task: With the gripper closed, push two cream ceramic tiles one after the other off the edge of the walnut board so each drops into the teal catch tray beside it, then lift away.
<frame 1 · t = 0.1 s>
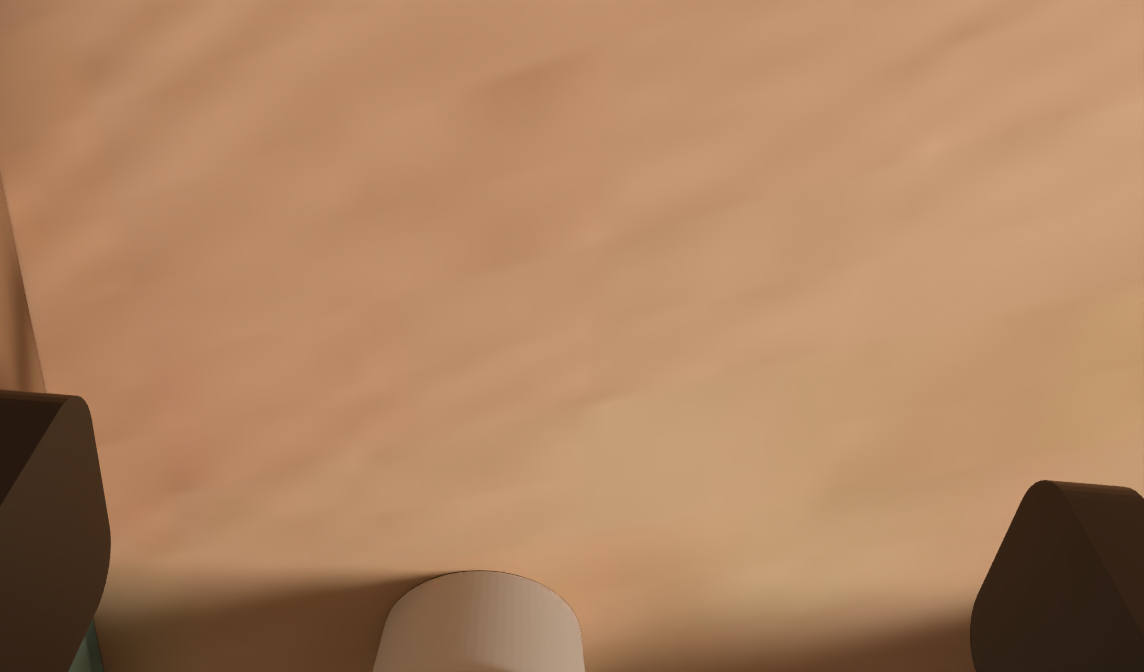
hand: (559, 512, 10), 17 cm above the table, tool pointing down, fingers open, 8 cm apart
coffee cup: (482, 634, 37), on the table
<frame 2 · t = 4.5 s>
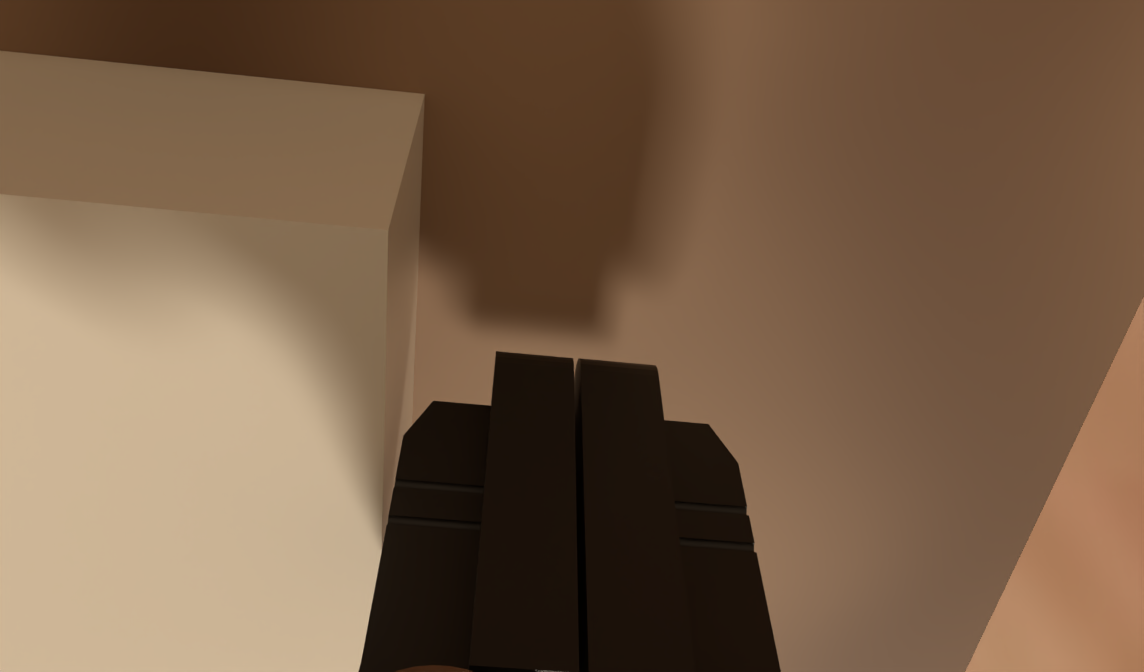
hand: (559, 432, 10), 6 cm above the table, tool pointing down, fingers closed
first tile: (118, 342, 11), point 5 cm above the table, touching gripper
walnut board: (392, 405, 18), on the table
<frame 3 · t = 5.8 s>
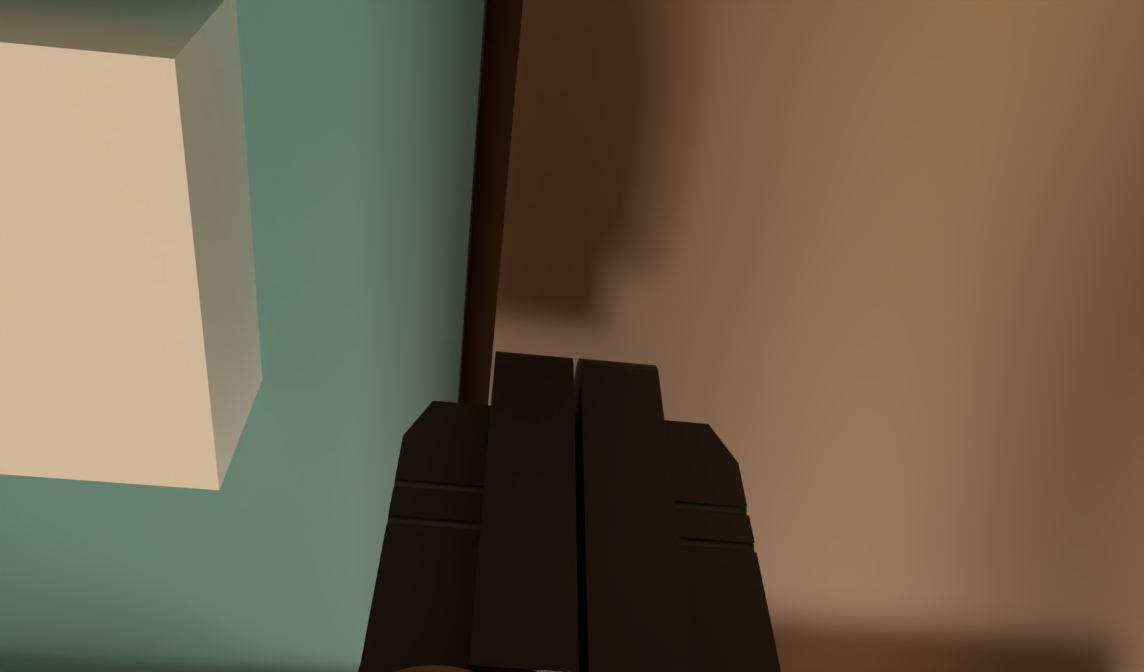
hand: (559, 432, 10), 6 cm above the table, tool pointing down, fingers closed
walnut board: (958, 450, 19), on the table
catch tray: (72, 374, 18), on the table
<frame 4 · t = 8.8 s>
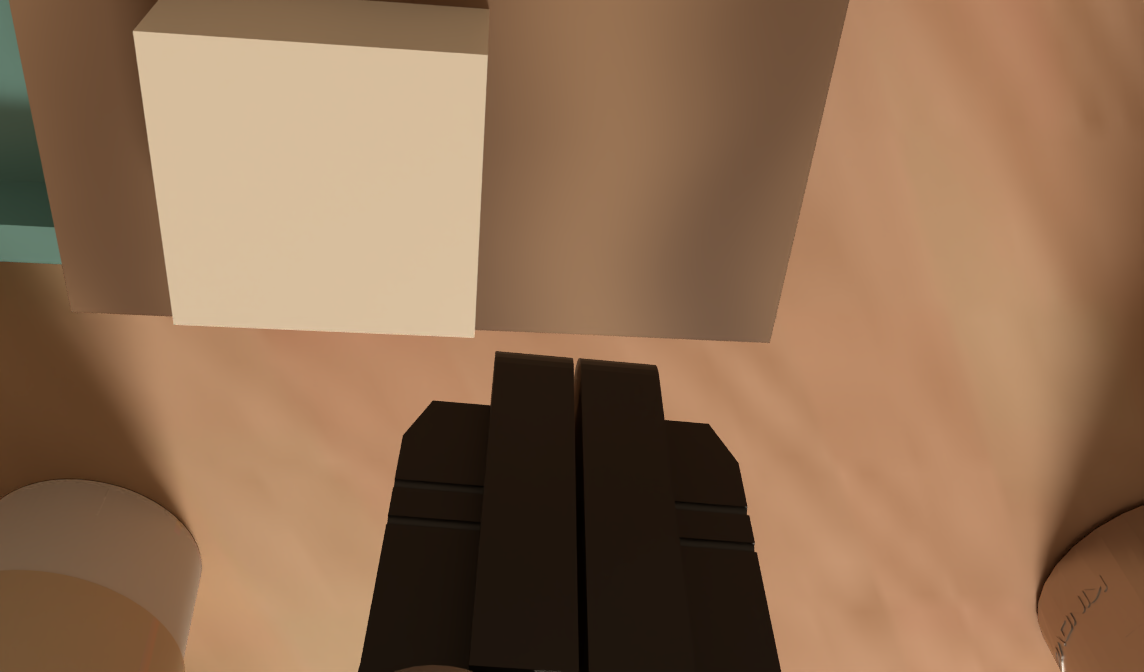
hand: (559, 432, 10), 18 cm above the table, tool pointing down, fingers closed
coffee cup: (94, 551, 36), on the table
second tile: (336, 142, 23), point 5 cm above the table, touching walnut board
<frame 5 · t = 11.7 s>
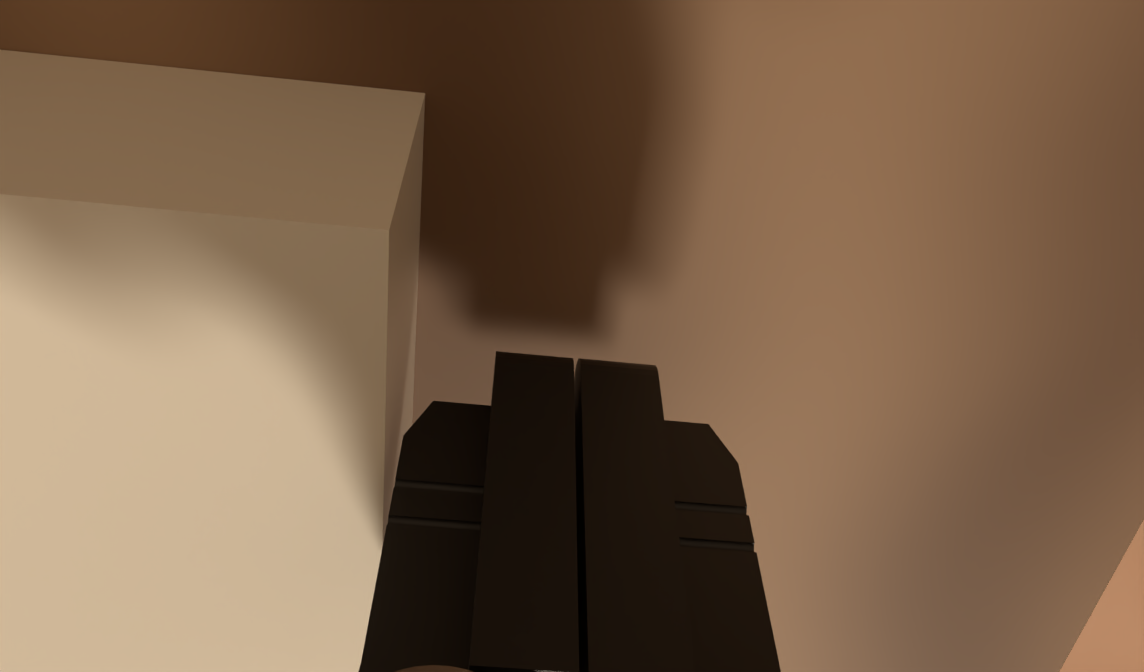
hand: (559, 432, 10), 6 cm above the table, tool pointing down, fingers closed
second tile: (118, 341, 11), point 5 cm above the table, touching gripper
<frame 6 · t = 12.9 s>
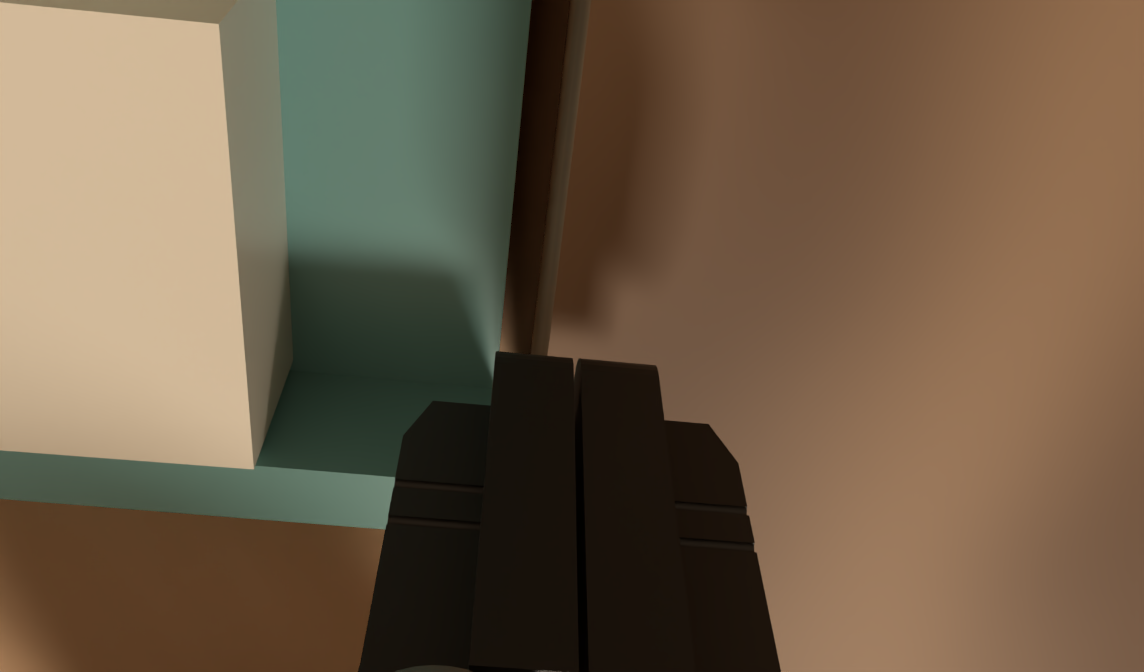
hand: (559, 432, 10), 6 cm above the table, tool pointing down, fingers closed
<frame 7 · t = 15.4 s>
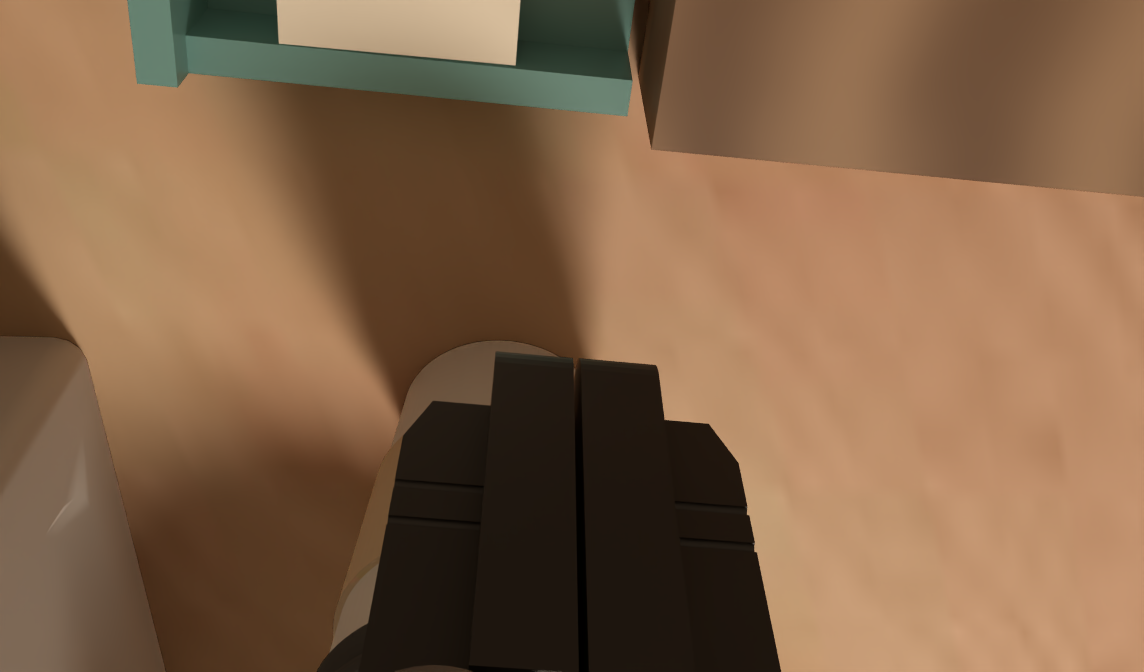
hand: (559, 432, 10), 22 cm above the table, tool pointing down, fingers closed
coffee cup: (502, 414, 39), on the table
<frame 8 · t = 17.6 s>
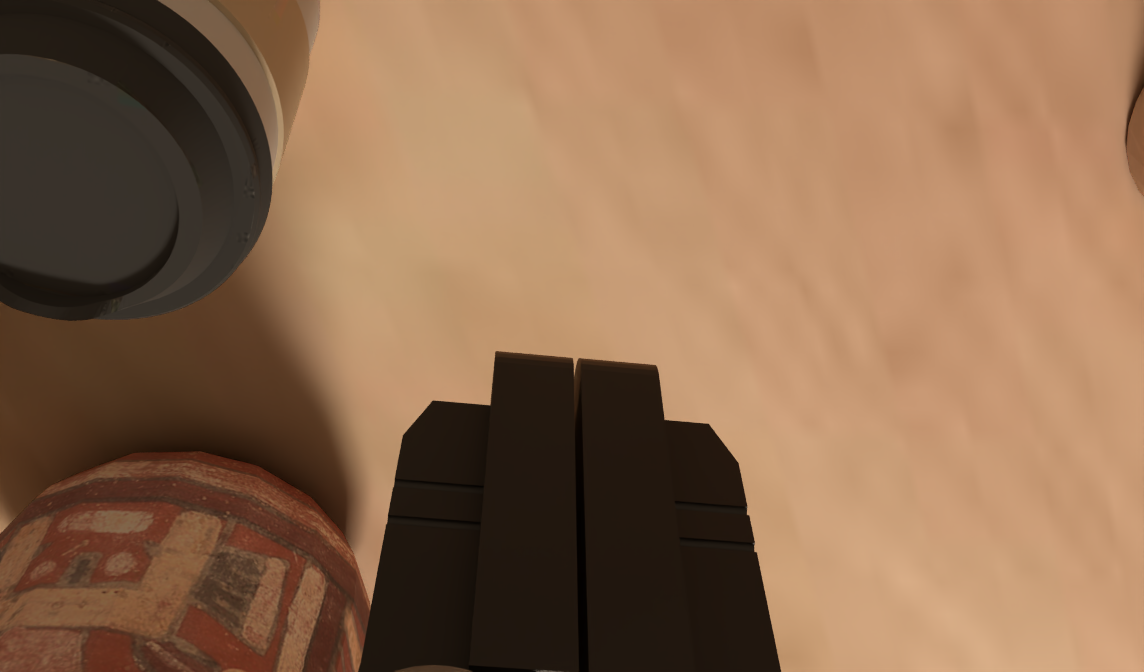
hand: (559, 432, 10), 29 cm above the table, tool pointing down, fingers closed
pottery: (211, 539, 51), on the table
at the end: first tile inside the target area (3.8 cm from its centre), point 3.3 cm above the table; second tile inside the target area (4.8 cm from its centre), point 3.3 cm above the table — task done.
